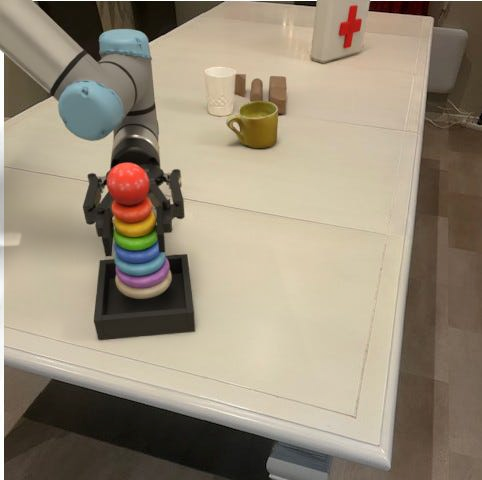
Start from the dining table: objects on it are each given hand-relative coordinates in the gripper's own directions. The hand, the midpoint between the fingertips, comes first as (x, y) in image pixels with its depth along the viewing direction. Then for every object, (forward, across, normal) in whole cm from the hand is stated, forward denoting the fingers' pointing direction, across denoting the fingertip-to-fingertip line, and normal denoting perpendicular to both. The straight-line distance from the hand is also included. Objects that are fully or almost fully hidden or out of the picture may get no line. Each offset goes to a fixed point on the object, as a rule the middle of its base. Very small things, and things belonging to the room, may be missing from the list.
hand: (134, 245), depth 59 cm
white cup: (-79, -20, -15) cm, 83 cm away
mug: (-59, -25, -15) cm, 66 cm away
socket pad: (-5, 0, -14) cm, 15 cm away
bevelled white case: (-124, -66, -15) cm, 141 cm away
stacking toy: (-5, 0, -11) cm, 12 cm away
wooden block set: (-85, -30, -15) cm, 92 cm away
